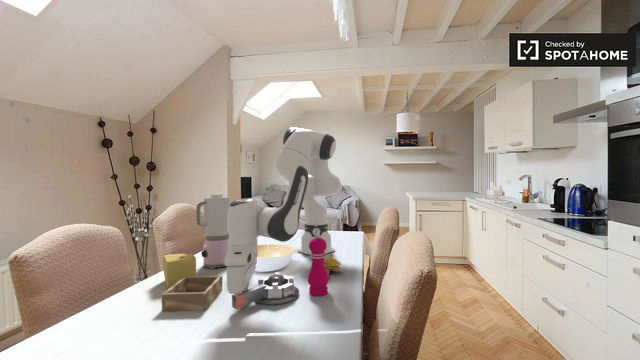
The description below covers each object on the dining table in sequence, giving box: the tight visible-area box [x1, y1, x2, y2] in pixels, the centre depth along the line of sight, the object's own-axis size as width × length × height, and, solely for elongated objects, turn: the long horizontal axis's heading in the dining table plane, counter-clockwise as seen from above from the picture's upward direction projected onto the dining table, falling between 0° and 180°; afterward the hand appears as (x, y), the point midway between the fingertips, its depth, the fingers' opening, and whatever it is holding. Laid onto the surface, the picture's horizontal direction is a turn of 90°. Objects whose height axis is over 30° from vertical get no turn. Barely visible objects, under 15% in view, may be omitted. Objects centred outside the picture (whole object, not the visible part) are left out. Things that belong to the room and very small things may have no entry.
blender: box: [195, 193, 231, 270], centre depth 126 cm, size 16×12×32 cm
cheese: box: [162, 253, 197, 290], centre depth 108 cm, size 10×11×10 cm
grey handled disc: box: [231, 271, 296, 310], centre depth 91 cm, size 22×12×4 cm, turn 140°
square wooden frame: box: [161, 275, 223, 312], centre depth 92 cm, size 15×13×5 cm
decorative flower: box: [324, 254, 345, 275], centre depth 116 cm, size 15×11×10 cm
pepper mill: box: [307, 233, 330, 297], centre depth 96 cm, size 7×7×20 cm
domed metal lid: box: [254, 274, 300, 306], centre depth 95 cm, size 15×15×6 cm
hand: (244, 296), depth 88 cm, fingers closed
